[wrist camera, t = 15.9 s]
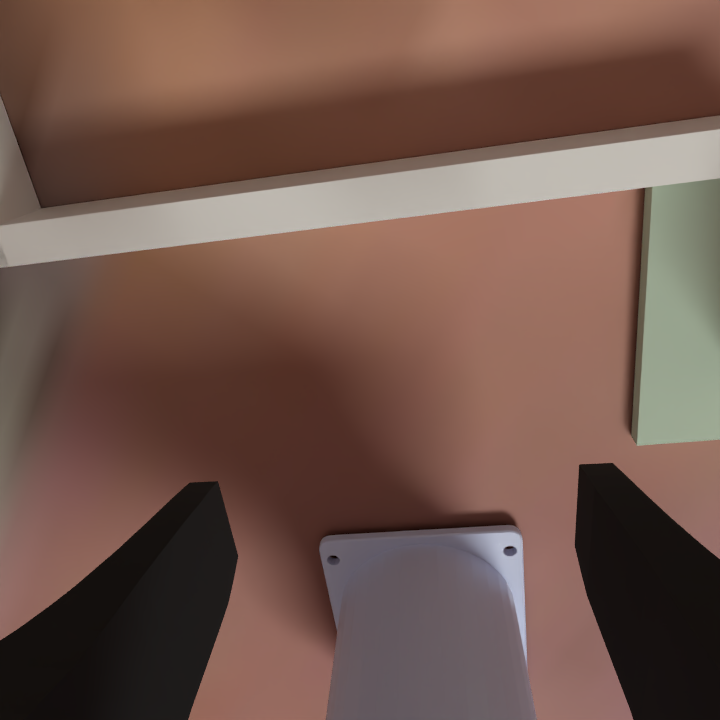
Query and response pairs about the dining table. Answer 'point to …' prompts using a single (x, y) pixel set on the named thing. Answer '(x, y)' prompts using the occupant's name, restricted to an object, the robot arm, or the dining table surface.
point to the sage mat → (679, 316)
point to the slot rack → (349, 191)
